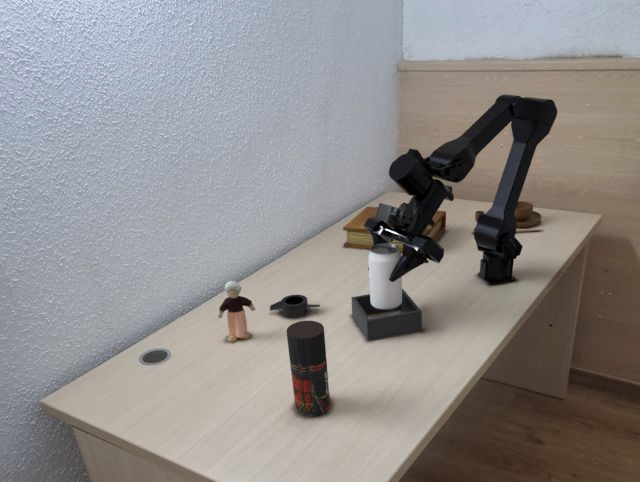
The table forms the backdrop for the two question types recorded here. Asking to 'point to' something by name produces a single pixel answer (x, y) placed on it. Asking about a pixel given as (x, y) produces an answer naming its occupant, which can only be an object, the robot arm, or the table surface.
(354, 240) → the diary
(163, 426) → the table surface
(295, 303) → the dark ring with tabs
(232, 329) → the grandmother figurine
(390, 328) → the bin
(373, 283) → the can
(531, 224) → the place setting
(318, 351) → the deodorant
